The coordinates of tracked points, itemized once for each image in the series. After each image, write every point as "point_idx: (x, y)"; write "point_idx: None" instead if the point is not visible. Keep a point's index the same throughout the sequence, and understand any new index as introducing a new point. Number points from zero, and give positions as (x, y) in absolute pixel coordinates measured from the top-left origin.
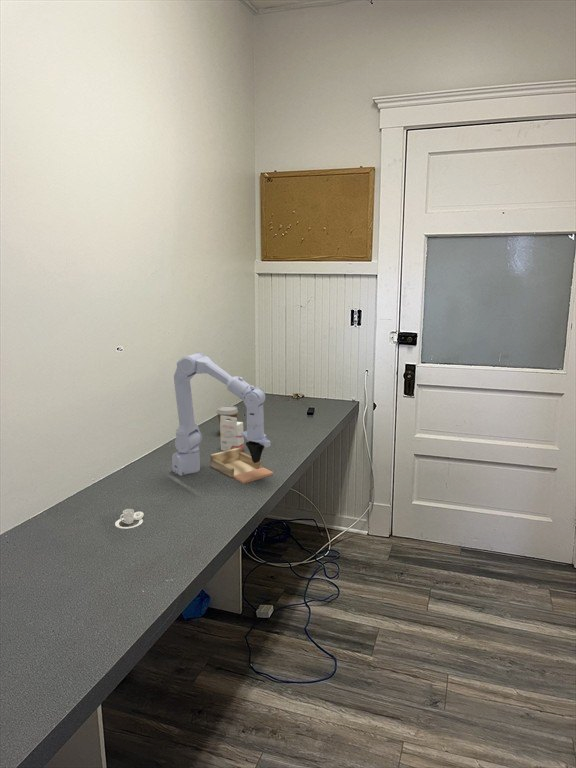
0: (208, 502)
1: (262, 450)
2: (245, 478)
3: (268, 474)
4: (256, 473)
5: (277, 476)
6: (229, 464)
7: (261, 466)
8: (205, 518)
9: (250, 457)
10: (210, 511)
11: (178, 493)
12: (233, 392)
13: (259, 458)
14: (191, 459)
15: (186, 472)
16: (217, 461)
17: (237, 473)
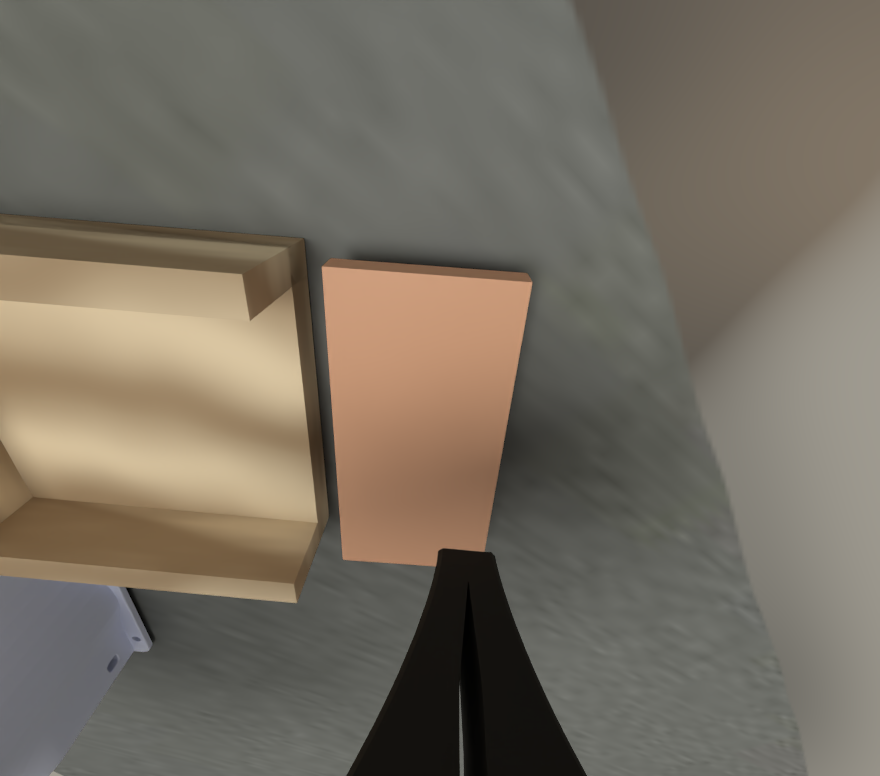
0: None
1: (577, 763)
2: (448, 537)
3: (519, 346)
4: (424, 426)
5: (509, 179)
6: (18, 402)
7: (276, 257)
8: (607, 748)
9: (31, 294)
10: (575, 721)
11: (310, 703)
12: None
13: (502, 604)
14: (27, 733)
15: (105, 653)
16: (49, 573)
17: (272, 477)
